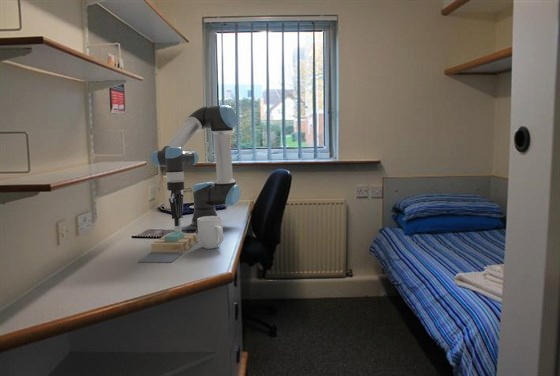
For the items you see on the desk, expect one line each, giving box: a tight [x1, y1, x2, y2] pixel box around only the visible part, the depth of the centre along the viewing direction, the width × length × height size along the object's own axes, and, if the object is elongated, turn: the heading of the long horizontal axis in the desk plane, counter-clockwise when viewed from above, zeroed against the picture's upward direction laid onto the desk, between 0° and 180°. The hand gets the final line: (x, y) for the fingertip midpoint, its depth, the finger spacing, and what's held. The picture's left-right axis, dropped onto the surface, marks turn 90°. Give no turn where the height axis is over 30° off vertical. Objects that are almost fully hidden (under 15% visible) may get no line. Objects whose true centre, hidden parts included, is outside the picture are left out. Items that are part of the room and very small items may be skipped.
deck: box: [150, 233, 198, 254], centre depth 205 cm, size 20×14×4 cm
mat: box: [137, 251, 184, 264], centre depth 189 cm, size 14×14×1 cm
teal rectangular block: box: [164, 231, 185, 241], centre depth 205 cm, size 9×6×2 cm, turn 173°
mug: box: [196, 215, 224, 250], centre depth 202 cm, size 15×11×13 cm
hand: (178, 232), depth 210 cm, fingers closed
